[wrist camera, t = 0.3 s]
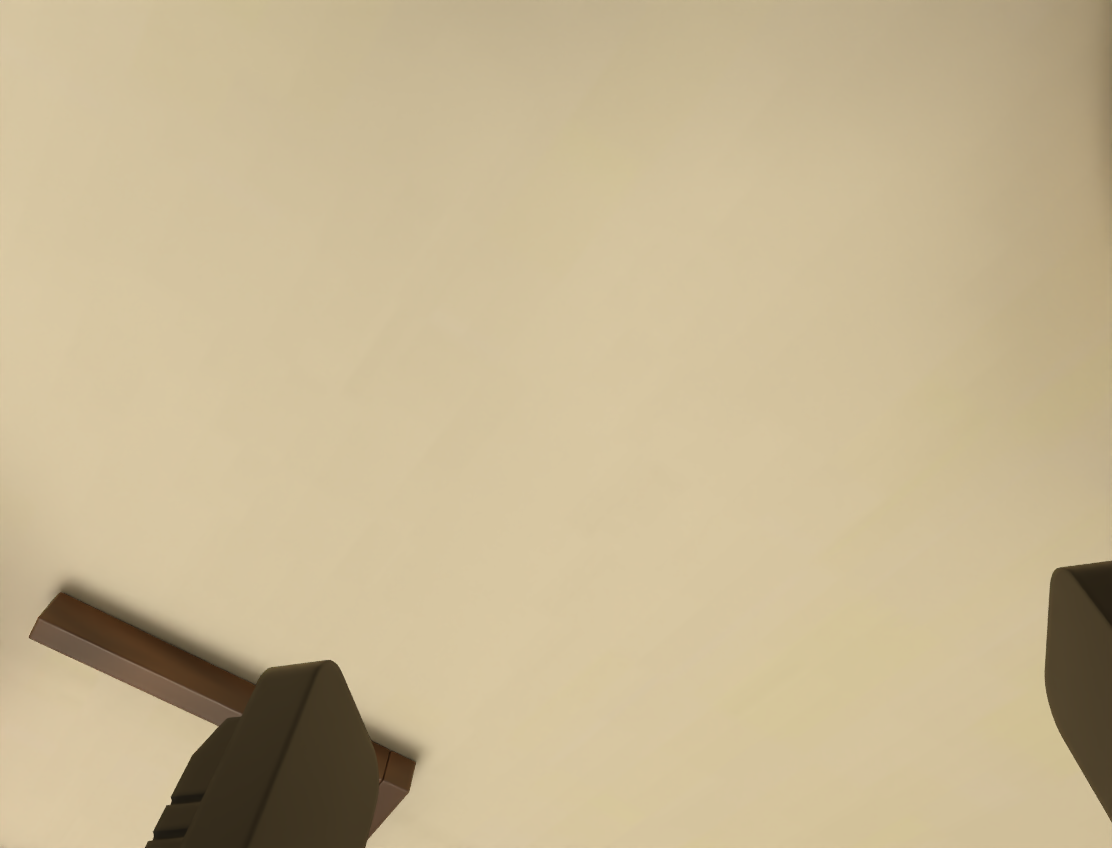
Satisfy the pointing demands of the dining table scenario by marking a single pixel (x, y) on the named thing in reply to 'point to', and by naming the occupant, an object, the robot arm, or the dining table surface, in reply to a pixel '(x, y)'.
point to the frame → (179, 678)
